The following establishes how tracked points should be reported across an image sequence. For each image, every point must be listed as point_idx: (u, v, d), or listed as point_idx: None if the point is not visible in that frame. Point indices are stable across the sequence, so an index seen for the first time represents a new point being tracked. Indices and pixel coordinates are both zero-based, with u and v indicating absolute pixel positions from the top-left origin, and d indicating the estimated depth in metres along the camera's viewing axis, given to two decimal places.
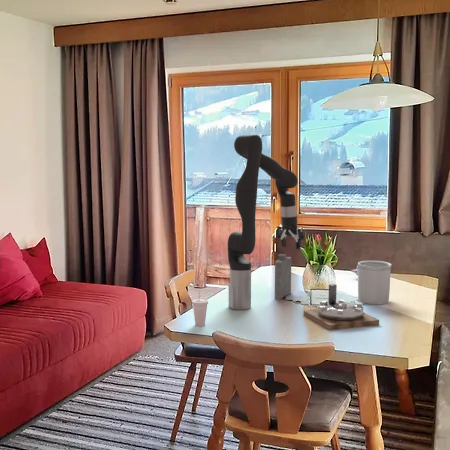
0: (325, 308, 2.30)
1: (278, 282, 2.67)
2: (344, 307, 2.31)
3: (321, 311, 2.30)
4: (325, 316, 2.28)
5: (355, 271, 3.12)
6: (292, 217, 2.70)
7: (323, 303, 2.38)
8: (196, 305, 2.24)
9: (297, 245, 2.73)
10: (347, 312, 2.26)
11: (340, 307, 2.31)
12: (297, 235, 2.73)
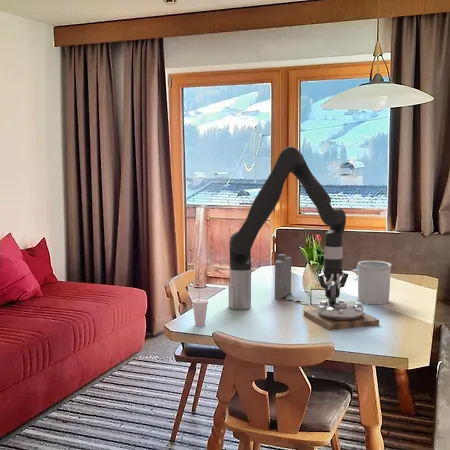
0: (325, 308, 2.30)
1: (278, 282, 2.67)
2: (344, 307, 2.31)
3: (321, 311, 2.30)
4: (325, 316, 2.28)
5: (355, 271, 3.12)
6: (324, 258, 2.39)
7: (323, 303, 2.38)
8: (196, 305, 2.24)
9: None
10: (347, 312, 2.26)
11: (340, 307, 2.31)
12: (327, 282, 2.38)
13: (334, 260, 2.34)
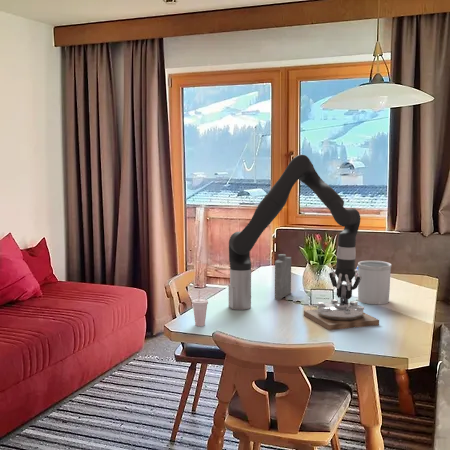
0: (322, 305, 2.36)
1: (278, 282, 2.67)
2: (340, 307, 2.31)
3: None
4: (318, 312, 2.34)
5: (355, 271, 3.12)
6: None
7: (332, 301, 2.41)
8: (196, 305, 2.24)
9: None
10: (333, 311, 2.27)
11: (336, 306, 2.32)
12: (338, 281, 2.40)
13: (339, 260, 2.35)
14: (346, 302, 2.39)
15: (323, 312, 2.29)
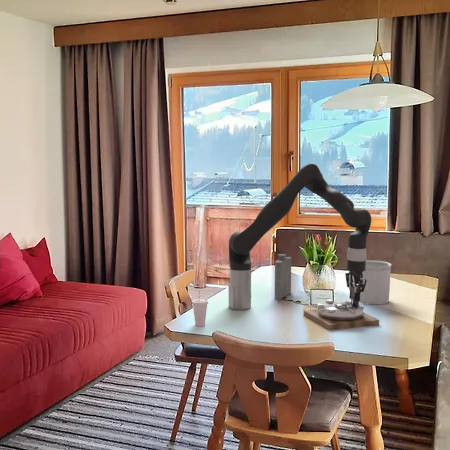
0: (328, 302, 2.40)
1: (278, 282, 2.67)
2: (336, 306, 2.32)
3: None
4: None
5: None
6: None
7: None
8: (196, 305, 2.24)
9: None
10: (323, 308, 2.32)
11: (334, 305, 2.34)
12: None
13: (347, 260, 2.34)
14: (354, 304, 2.35)
15: None
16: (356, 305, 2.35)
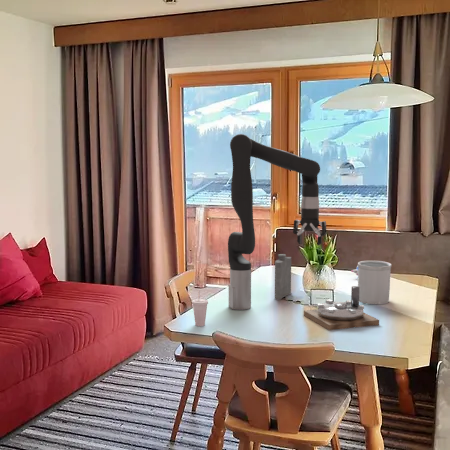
0: (328, 302, 2.40)
1: (278, 282, 2.67)
2: (336, 306, 2.32)
3: None
4: None
5: (355, 271, 3.12)
6: None
7: None
8: (196, 305, 2.24)
9: None
10: (323, 308, 2.32)
11: (334, 305, 2.34)
12: (300, 229, 2.50)
13: (304, 209, 2.45)
14: (354, 304, 2.35)
15: None
16: (356, 305, 2.35)
